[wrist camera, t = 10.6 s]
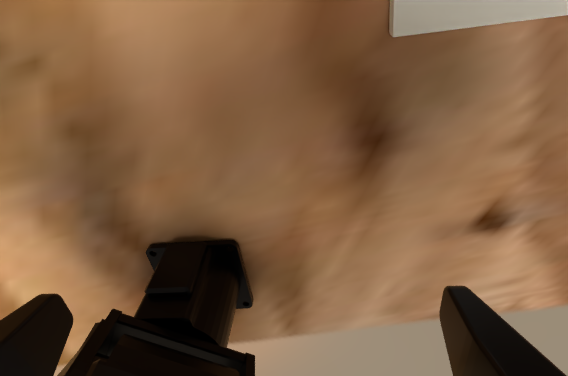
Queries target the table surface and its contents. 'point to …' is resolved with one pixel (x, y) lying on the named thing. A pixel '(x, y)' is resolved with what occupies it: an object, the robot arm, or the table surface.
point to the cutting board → (466, 14)
